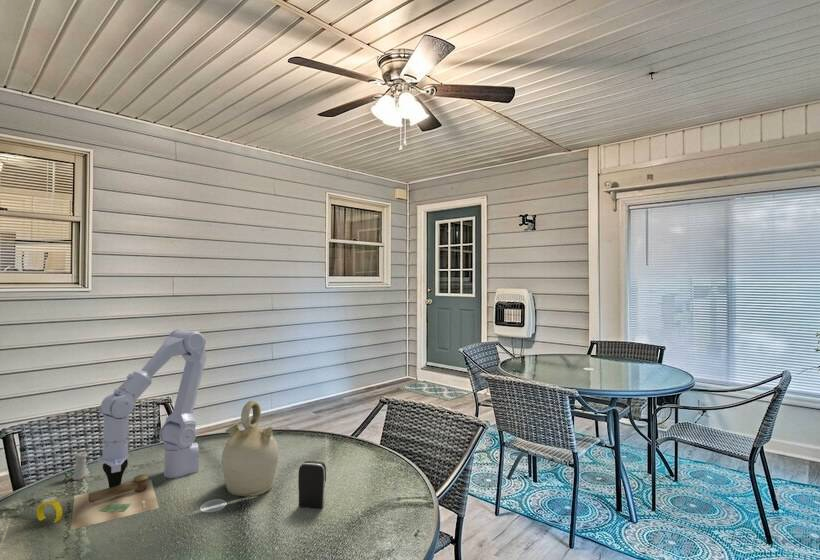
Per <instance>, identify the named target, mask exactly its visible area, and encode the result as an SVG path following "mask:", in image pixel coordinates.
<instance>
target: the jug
mask: <svg viewBox="0 0 820 560" xmlns="http://www.w3.org/2000/svg"><path fill="white" fill-rule="evenodd" d="M251 410H252V418H251V420H250V413H251ZM261 413H262V412H261V406H260V404H259V403H258V402H257V401H254V400H250V401H248V402H246V403H245V404H244V405H243V407H242V410H241V414H240V422H241V425H242V427H243V428H244V429H243V430H241V429H239V423H238V422H236V423H234V424H233V425H231V426H229V427H227V429H225V431H224V432H226V433H227V434H229V435H230V437H229V440H227V441H226V444H225V445H224V447H223V449H222V454H221V466H222V467H221V468H222V473H223V474H222V475H223V479H224V482H225V486H226V487H225V488H226V490H227V491H228V493H229V494H231V495H234V496H243V497H241V498H243V499H244V498H245V497H247V498H252V497H257V495H258V496H261V495H264V494H266V493H268V492H269V491H270V490H271V489H272V487H273V485H274V480H275V478H276V477H275V476H276V472H277V467H278V462H279V446H278V443H277V441H276V439H275V437H274V436H273V430H274V428H273V426H269V427H267V428H264V429H261V428H260V429H259V426H258V425H259V424H260V420H261ZM267 491H268V492H267ZM265 492H266V493H265ZM260 494H261V495H260Z"/></svg>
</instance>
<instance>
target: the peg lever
mask: <svg viewBox="0 0 820 560" xmlns="http://www.w3.org/2000/svg"><path fill="white" fill-rule="evenodd" d="M147 480H149V475H148V474H138V475H136V476H134V478H133V480H130V481H127V482H123V483H121V485H116V486H113V487H110V488H109V487H107V488H104V489H100V491H99V490H95V491H96V492H94V491H92V492H93V493H89V492H88V493H89V500H88V501H89V502H90V503H92V502H95V501H98V500H102V499H105V498H108V497H111V496H115V495H118V494H121V493H124V492H127V491H131V490H134V489H135V491H136V492H141V491H144V490H146V489H147Z"/></svg>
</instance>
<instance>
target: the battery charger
mask: <svg viewBox="0 0 820 560" xmlns="http://www.w3.org/2000/svg"><path fill="white" fill-rule="evenodd" d="M297 479H298V487H297V488H298V507H300V508H306V507H311V508H310V509H323V508H324V506H325V485H326V484H325V483H326V482H327V467H326V464H325V463H324V462H322V461H313V460H312V461H311V460H306V461H304V462H303V463H301V465H300V466H299V467H298V478H297ZM322 507H323V508H322Z"/></svg>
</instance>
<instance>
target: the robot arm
mask: <svg viewBox="0 0 820 560" xmlns="http://www.w3.org/2000/svg"><path fill="white" fill-rule="evenodd" d="M206 344H207V339H206V338H205V337H204V335H203V334H202V333H201V332H199V331H198V330H197V331H195V330H193V331H191V330H190V331H189V330H183V329H175V330H173V331H171V332H170V334H169V335H167V337H165V338H164V339H163V342H162V344H161V345H160V346H159V348H158V350H156V352H155V353H154V354H153V355H152V357H150V359H149V360H148V361H147V363H146V364H145V365H143V367H142V369H141V370H136V371H133V372H132V373H129V374H128V375H127V376H126V380H124V382H123V383H122V384H121V385H120V386H119V387H118V388H116V389H114V391H113V393H110V394H108V395H107V396H106V397H104V398H103V400H102V401H101V404H100V405H99V406H98V410H99V412H100V413H101V414H102V415H103V425H102V426H103V430H102V433H103V436H102V456H98V457H97V463H103V464H102V470H103V471H104V473H105V475H106V477H107V482H108V488H110V487H113V486H116V485H121V484H122V479H123V475H124V472H125V471H126V469H127V467H128V464H129V463H128V462H129V461H128V458H129V456H130V454H129V453H130V452H129V430H130V429H129V428H130V427H129V425H130V424H129V423H130V422H129V421H130V419H129V416H130V414H131V413H132V412H134V409H135V404H136V402H137V400H138V399H139V398H140V397H141V396H142V395H143V393H144V392H145V391H146V390H147V389H148V388H149V387H150V386H151V384H152V379H153V378H152V377H153V376H154V375H155V374H157V373H158V371H160V369H161V368H162V367H164V365H166V364H167V363H168V362H169V360H171V359H172V358H173V357H176V356H177V357H178V356H181V357H182V358H183V360H185V364H184V367H183V372H182V376H181V380H180V383H179V388H178V392H177V394H176V399H175V402H174V407H173V410H172V413H170V414H169V415H168V416H167V417H166V418H165V422H164V424H163V425H162V427H161V428H160V430H159V438H160V440H161V442H163V451H164V452H163V453H164V454H163V476H164V477H165V478H168V479H175V478H180V477H184V476H187V475H191V474H196V473H199V470H200V469H199V468H200V464H199V462H200V449H199V448H200V447H199V444H198V442H195V440H196V438H197V437H196V436H197V431H196V426H197V421H196V419H195V417H194V415H193V412H194V408H195V404H196V400H197V396H198V393H199V388H200V385H201V380H202V376H203V374H204V373H203V372H204V368H205V365H206V359H207V355H206Z"/></svg>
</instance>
